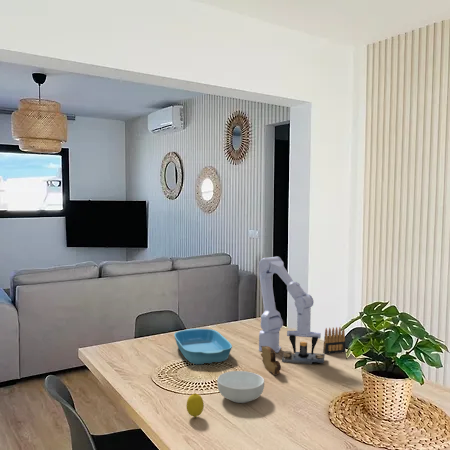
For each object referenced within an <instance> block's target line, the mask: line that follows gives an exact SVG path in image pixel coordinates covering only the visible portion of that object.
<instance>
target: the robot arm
mask: <svg viewBox="0 0 450 450" xmlns="http://www.w3.org/2000/svg"><path fill="white" fill-rule="evenodd" d="M284 264H285V263H284V261H283V260H282V258H281V257H280V256H277V255H276V256H272V257H262V258H261V259H260V260H259V262H258V269H259V270H258V271H259V272H258V273H259V275H258V277H259V282H260V289H261V296H262V304H263V310H264V311H263V313H262V314H261V316H260V328H261V330H259V334H258V351H259V352H262V346H269V347H271V348H272V349H273V350H274V351H275V353H280V350H281V348H282V347H281V345H280V331H281V329H282V328H283V326H284V320H283V319H282V317H281V313H280V311H278V310H277V307H276V302H275V296H274V287H273V282H272V277H273V275H274V274H277V275H278V277H279V278H280V279H281V280H282V282H284V284H285V285H286V290H287V291H288V293H289V295H290V296H291V297H292V299H293V300H294V307H295V308H296V313H297V316H296V317H297V321H296V322H297V323H296V324H297V325H296V326H297V327H296V329H297V330H286V331H287V332H286V336H287V337H289V338H288V339H289V342H290V344H291V346H292V350H293V354H295V352H297V345H296V343H297V341H296V340H297V338H296V337H299V338H300V337H302V338H311V350H310V351H311V352H310V353H311V354H312V355H313V353H314V351H315V347H316V344H317V343H318V340H319V339H321V335H322V334H321V332H316V331H311V314H312V313H311V311H312V310H311V308H313V306H314V298H313V297H312V294H308V293H307V292H305V290H304V289H303V288H302V287H301V284H300V283H299V282H297V281H294V280H293V278H292V277H291V275H290V273H289V271H287V269H286V268H285V265H284Z"/></svg>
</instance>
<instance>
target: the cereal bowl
mask: <svg viewBox="0 0 450 450" xmlns="http://www.w3.org/2000/svg"><path fill="white" fill-rule="evenodd" d="M216 383H217V389H218V392H219V394H221V396H222V397H224V398H225V399H227V400H230V401H231V402H234V403H236V404H246V403H249V402H251V401H255V400H257V399H258V398H260V397H261V395H262V394H263V392H264V388H265V379H264V377H263V376H261V375H260V374H257V373H255V372H251V371H245V370H233V371H232V370H231V371H226V372H223V373H221V374H220V375H219V376H218V377H217V381H216Z"/></svg>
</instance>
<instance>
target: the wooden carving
mask: <svg viewBox="0 0 450 450" xmlns="http://www.w3.org/2000/svg"><path fill="white" fill-rule="evenodd" d="M261 352H262V353H260V357H262V360H261V361H262V364H263V366H264V367H265V369H266V370H267V371H268V372H269V373H272V374H273V375H274V376H276V375H278V374H280V373H281V372H280V371H281V370H282V367H281V363H280V361H279V360H276V359H277V358H276V356H277V355H276V354H277V352H275V351H274V350H273V349H272V348H271V347H269V346H262V351H261Z"/></svg>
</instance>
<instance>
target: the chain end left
mask: <svg viewBox="0 0 450 450" xmlns="http://www.w3.org/2000/svg"><path fill="white" fill-rule="evenodd" d="M294 354H295V353H292V351H288V350H286V351H283V354H282V358H281V363H291V364H300V365H303V364H304V365H313V362H308V361H298V360H293V357H294ZM299 357H300V356H299Z"/></svg>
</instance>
